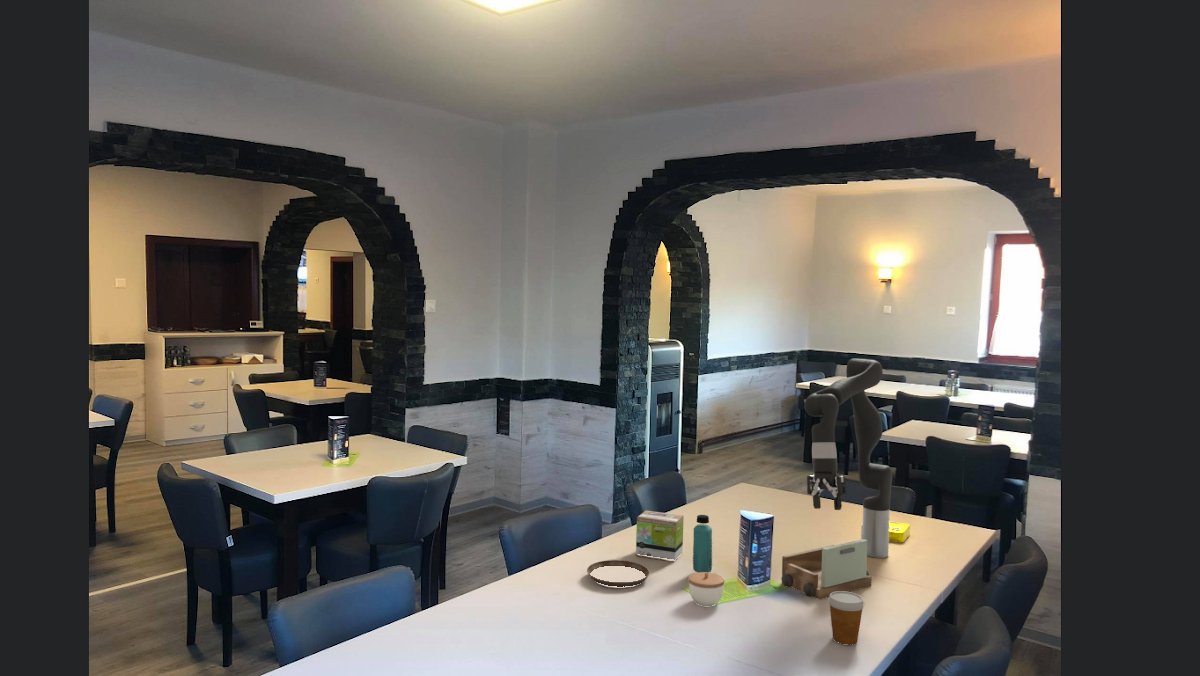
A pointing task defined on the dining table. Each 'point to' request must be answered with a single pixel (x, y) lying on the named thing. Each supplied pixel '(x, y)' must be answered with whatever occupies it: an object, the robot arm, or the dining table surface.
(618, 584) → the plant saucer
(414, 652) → the dining table surface
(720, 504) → the dining table surface
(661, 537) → the tea box
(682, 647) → the dining table surface
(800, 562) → the drawer box
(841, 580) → the panel
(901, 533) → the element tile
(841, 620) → the disposable coffee cup
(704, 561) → the beverage bottle
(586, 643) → the dining table surface
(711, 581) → the lidded jar
